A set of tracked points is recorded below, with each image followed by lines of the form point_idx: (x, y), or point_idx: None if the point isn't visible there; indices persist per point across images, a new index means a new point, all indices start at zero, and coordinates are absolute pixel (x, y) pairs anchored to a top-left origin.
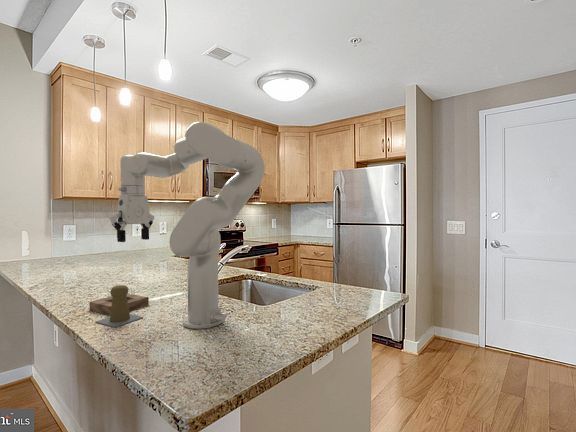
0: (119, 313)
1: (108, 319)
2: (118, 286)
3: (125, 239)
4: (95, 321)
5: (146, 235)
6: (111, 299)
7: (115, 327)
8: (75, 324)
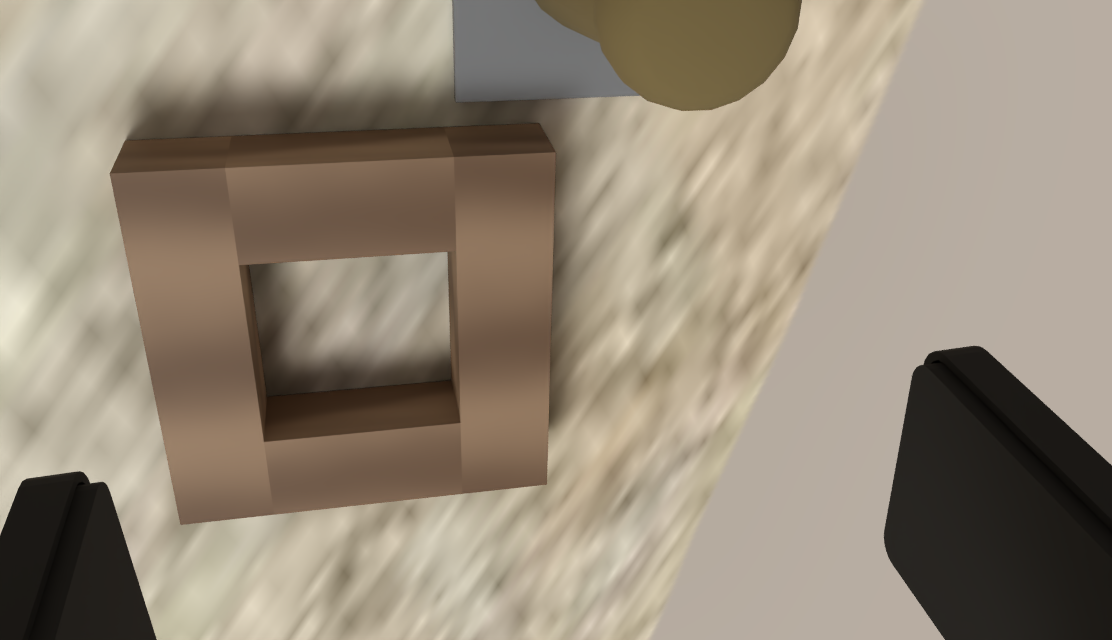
0: None
1: None
2: (748, 1)
3: (955, 385)
4: None
5: (86, 594)
6: (387, 426)
7: None
8: (805, 191)
